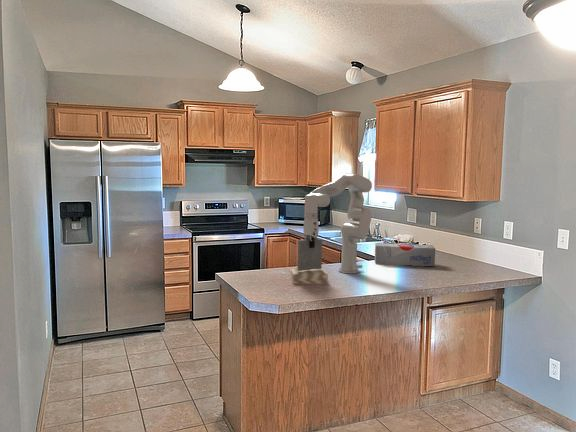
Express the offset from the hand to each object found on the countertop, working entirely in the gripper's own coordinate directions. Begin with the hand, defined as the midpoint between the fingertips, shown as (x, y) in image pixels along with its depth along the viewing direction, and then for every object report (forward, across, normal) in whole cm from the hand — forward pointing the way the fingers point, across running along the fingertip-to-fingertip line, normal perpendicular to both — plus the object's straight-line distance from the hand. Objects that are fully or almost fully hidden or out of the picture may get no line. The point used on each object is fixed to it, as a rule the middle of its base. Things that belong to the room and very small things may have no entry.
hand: (309, 246), depth 276 cm
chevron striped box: (+20, 0, 0) cm, 20 cm away
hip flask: (+13, 0, 0) cm, 13 cm away
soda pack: (+21, +17, -87) cm, 91 cm away
